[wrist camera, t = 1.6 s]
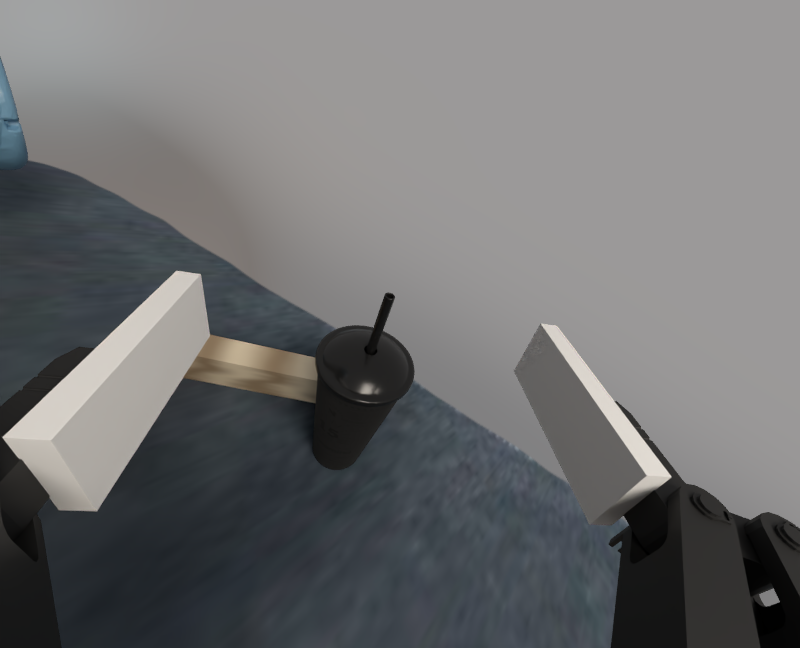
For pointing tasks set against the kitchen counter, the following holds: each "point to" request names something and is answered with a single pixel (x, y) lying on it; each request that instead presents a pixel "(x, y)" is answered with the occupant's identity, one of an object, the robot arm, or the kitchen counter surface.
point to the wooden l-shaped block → (255, 369)
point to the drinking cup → (357, 387)
